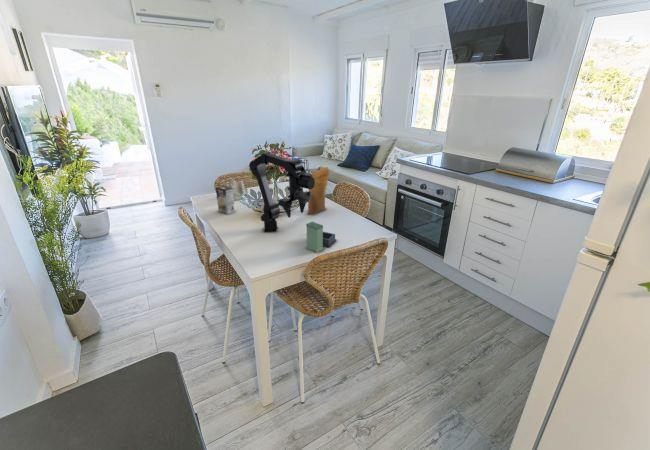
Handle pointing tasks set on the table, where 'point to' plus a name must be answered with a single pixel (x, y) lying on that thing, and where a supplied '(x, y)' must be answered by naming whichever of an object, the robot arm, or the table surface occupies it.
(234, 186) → the ceramic cottage
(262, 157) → the robot arm
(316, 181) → the pancake mix bag
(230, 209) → the coffee box
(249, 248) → the table surface
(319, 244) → the green box
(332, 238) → the dark grey open box
